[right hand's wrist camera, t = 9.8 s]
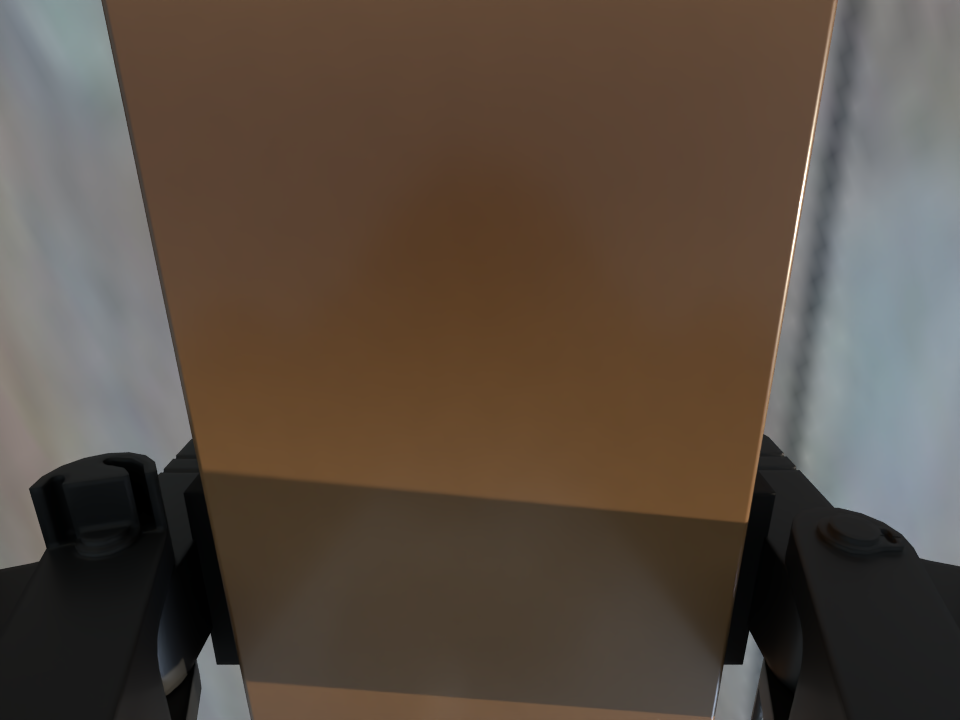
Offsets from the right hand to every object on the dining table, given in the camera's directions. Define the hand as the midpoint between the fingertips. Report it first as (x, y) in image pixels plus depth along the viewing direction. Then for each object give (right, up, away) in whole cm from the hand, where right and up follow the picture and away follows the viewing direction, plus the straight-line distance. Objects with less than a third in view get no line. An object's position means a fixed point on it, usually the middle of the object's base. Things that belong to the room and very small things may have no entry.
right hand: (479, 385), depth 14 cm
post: (0, +21, -8) cm, 23 cm away
